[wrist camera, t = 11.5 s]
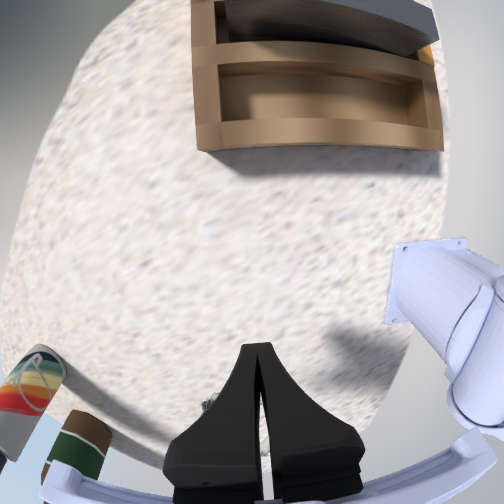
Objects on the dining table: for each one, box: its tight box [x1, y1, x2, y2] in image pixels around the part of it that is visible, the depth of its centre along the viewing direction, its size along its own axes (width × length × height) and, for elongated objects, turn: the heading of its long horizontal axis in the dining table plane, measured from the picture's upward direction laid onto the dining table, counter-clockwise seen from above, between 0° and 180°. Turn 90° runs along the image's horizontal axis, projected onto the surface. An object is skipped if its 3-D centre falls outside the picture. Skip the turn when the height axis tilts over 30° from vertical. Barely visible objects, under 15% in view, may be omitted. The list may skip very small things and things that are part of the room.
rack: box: [191, 0, 444, 152], centre depth 13 cm, size 17×17×4 cm
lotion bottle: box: [0, 344, 66, 474], centre depth 15 cm, size 6×6×20 cm
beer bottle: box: [41, 410, 112, 504], centre depth 17 cm, size 8×8×24 cm
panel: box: [224, 0, 439, 57], centre depth 11 cm, size 12×2×7 cm, turn 89°
